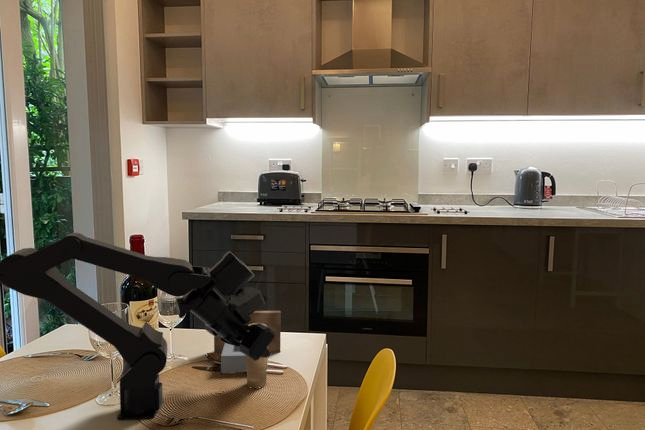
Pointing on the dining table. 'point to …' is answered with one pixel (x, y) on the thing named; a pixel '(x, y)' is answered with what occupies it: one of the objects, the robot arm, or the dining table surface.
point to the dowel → (256, 370)
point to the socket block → (233, 359)
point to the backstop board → (265, 317)
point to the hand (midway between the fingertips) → (262, 352)
